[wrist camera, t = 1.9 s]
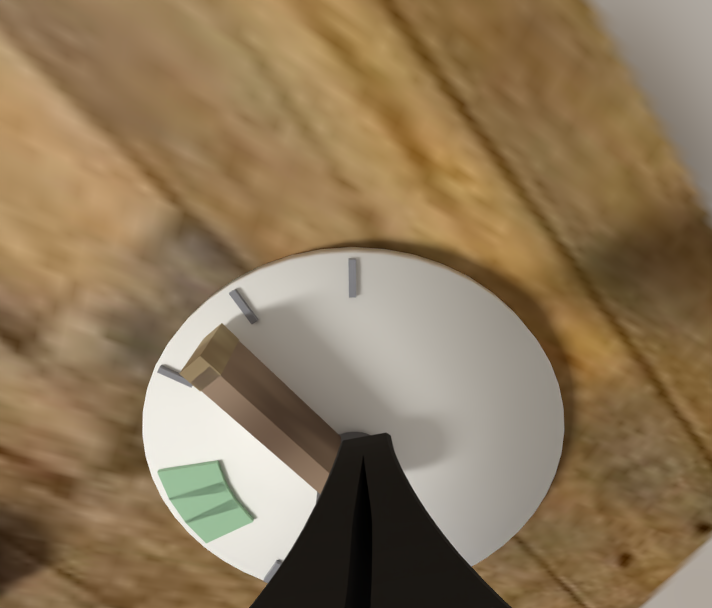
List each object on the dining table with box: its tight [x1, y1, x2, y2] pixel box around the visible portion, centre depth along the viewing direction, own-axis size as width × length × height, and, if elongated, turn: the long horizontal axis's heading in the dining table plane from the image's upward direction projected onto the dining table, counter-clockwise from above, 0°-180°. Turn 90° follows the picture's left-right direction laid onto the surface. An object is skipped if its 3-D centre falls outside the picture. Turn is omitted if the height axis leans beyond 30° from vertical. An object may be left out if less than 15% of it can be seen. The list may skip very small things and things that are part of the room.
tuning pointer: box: [179, 323, 369, 503], centre depth 19 cm, size 11×3×3 cm, turn 40°
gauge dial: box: [143, 247, 564, 583], centre depth 22 cm, size 20×20×1 cm
